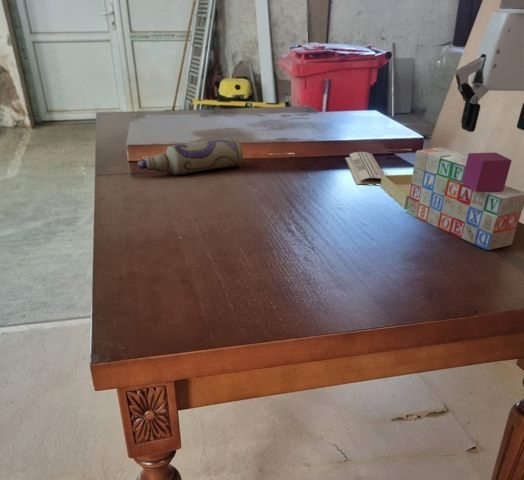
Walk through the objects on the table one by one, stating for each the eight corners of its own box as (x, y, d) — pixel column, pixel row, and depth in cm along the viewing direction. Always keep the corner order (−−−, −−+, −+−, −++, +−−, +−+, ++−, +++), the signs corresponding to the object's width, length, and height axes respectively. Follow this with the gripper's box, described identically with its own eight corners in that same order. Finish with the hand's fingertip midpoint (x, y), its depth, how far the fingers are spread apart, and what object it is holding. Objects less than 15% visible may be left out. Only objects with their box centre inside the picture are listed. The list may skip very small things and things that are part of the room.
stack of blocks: (512, 245, 92) (534, 174, 85) (487, 251, 90) (507, 179, 83) (429, 208, 108) (441, 145, 101) (405, 212, 105) (416, 149, 98)
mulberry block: (488, 182, 91) (496, 152, 89) (503, 190, 87) (512, 160, 85) (461, 183, 91) (468, 153, 88) (475, 191, 87) (483, 160, 84)
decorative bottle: (230, 161, 135) (230, 134, 131) (244, 169, 130) (244, 141, 126) (133, 174, 124) (129, 144, 121) (143, 182, 119) (140, 152, 115)
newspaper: (386, 185, 120) (387, 177, 119) (355, 184, 120) (356, 176, 119) (371, 158, 140) (372, 151, 139) (345, 158, 140) (345, 151, 139)
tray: (426, 185, 121) (428, 173, 120) (455, 206, 109) (458, 194, 108) (379, 186, 119) (381, 175, 118) (404, 208, 108) (406, 195, 106)
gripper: (567, 3, 78) (531, 125, 88) (459, -1, 76) (435, 125, 86) (601, 4, 72) (559, 135, 82) (485, 0, 70) (455, 135, 79)
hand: (495, 130), depth 84 cm, fingers open, 9 cm apart
